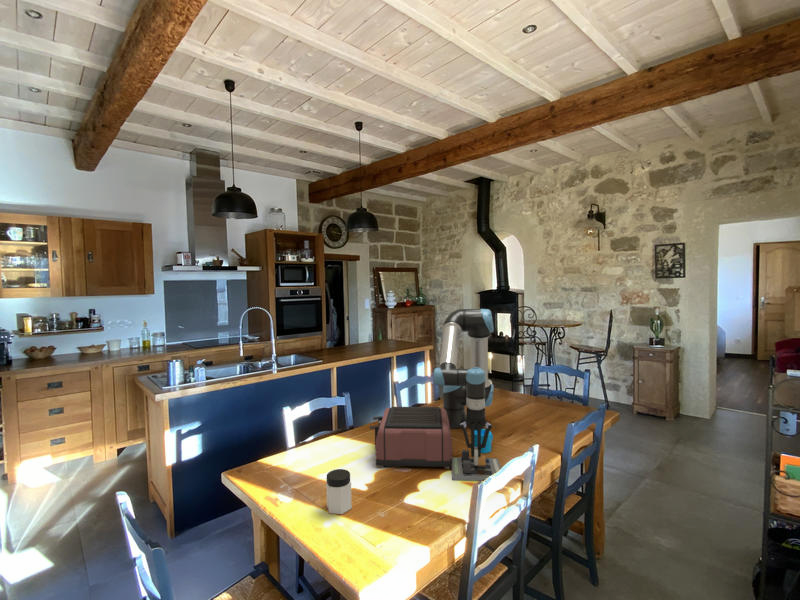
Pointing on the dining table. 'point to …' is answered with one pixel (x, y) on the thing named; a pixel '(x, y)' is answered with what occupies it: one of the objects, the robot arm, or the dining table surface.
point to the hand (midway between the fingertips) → (475, 463)
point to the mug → (488, 443)
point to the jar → (338, 491)
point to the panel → (474, 469)
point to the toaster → (413, 437)
